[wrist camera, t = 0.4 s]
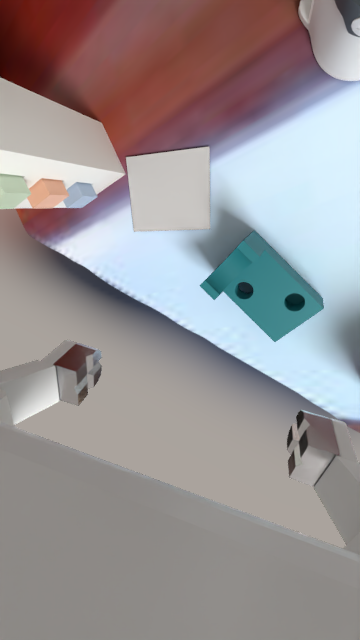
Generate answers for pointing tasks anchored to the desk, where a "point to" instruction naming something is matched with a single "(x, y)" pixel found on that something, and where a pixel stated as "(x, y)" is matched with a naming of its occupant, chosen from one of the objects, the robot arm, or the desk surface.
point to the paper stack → (170, 190)
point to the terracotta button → (47, 193)
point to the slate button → (79, 195)
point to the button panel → (52, 143)
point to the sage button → (12, 191)
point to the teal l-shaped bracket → (265, 287)
